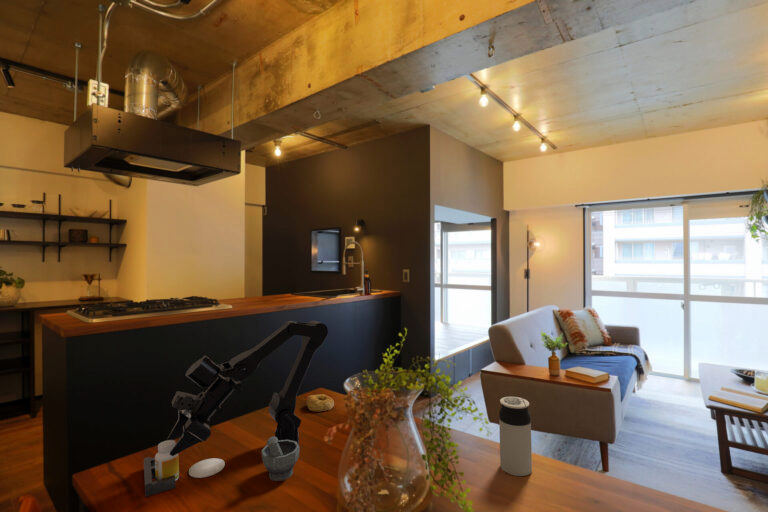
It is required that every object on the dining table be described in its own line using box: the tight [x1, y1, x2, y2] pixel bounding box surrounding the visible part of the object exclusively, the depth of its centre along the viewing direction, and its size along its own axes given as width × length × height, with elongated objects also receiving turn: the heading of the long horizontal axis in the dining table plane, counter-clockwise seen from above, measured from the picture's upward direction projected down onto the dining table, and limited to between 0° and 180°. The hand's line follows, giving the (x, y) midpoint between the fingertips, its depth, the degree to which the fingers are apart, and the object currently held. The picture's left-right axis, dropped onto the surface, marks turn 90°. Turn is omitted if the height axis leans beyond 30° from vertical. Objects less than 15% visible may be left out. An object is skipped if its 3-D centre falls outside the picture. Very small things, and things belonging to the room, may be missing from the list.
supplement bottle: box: [154, 439, 180, 482], centre depth 99 cm, size 5×5×10 cm
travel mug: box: [498, 396, 533, 477], centre depth 101 cm, size 8×8×18 cm
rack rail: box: [143, 456, 176, 498], centre depth 100 cm, size 6×15×3 cm, turn 33°
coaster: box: [188, 457, 226, 479], centre depth 104 cm, size 9×9×1 cm
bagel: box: [306, 393, 335, 413], centre depth 145 cm, size 10×11×5 cm
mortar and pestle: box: [260, 435, 301, 482], centre depth 100 cm, size 11×9×12 cm
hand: (169, 447), depth 99 cm, fingers open, 9 cm apart
